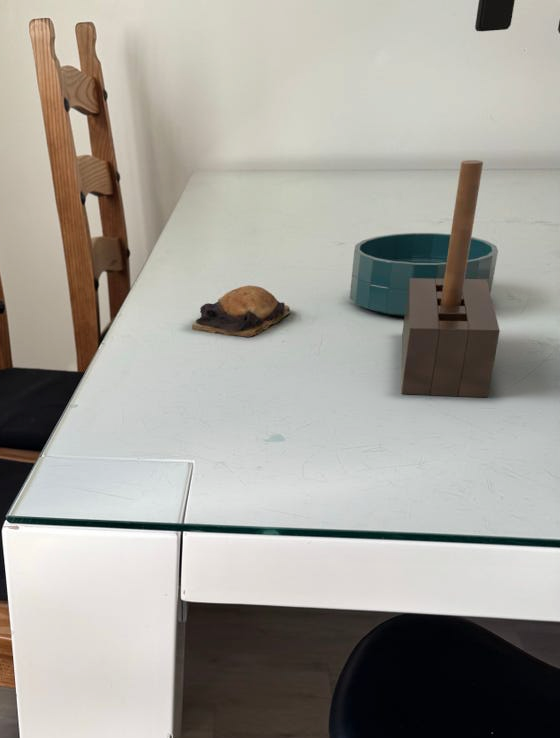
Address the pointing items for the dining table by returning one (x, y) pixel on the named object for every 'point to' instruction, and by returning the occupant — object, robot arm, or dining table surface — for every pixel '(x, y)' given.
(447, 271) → the stick
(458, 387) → the holder
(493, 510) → the dining table surface
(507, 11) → the robot arm
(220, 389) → the dining table surface
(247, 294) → the turtle figurine
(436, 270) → the bowl
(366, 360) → the dining table surface
